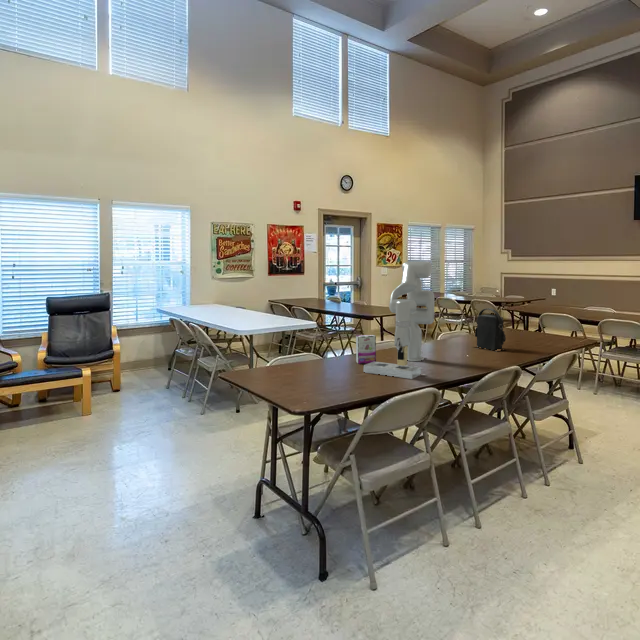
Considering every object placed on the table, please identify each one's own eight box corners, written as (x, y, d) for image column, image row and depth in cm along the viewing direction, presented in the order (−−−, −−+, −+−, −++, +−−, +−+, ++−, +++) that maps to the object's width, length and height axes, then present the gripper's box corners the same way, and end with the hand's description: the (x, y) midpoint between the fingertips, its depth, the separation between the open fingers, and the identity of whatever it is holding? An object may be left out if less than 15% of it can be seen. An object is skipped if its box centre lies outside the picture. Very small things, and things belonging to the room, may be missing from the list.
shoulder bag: (470, 347, 330) (471, 307, 327) (478, 345, 336) (480, 306, 332) (498, 352, 312) (500, 309, 308) (506, 350, 317) (508, 309, 314)
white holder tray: (373, 368, 266) (373, 361, 265) (420, 374, 250) (421, 367, 250) (363, 372, 256) (363, 365, 255) (411, 379, 240) (412, 371, 240)
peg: (400, 363, 252) (400, 345, 251) (407, 364, 250) (407, 345, 248) (397, 364, 248) (397, 346, 247) (404, 365, 246) (404, 346, 245)
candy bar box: (373, 361, 284) (373, 334, 282) (376, 363, 280) (376, 335, 278) (355, 362, 282) (355, 335, 280) (357, 364, 277) (358, 336, 275)
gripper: (402, 322, 255) (402, 355, 258) (389, 325, 242) (389, 360, 244) (416, 323, 251) (415, 357, 253) (403, 326, 238) (402, 362, 240)
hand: (402, 358), depth 249 cm, fingers closed on peg, 4 cm apart
